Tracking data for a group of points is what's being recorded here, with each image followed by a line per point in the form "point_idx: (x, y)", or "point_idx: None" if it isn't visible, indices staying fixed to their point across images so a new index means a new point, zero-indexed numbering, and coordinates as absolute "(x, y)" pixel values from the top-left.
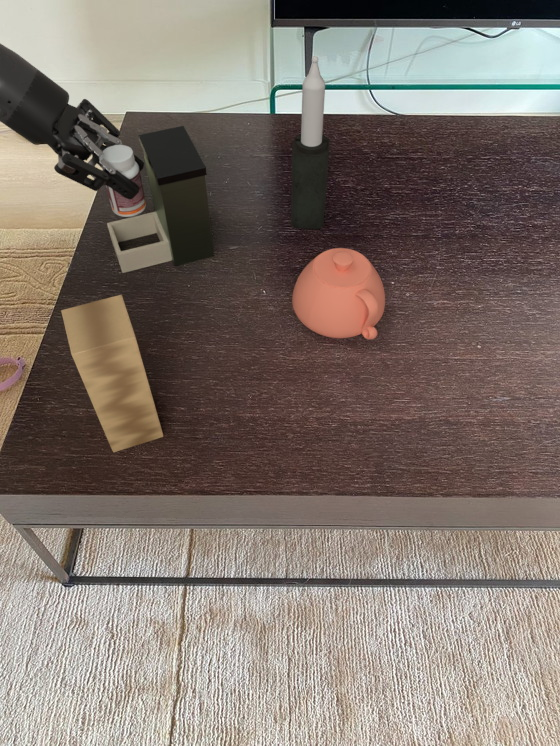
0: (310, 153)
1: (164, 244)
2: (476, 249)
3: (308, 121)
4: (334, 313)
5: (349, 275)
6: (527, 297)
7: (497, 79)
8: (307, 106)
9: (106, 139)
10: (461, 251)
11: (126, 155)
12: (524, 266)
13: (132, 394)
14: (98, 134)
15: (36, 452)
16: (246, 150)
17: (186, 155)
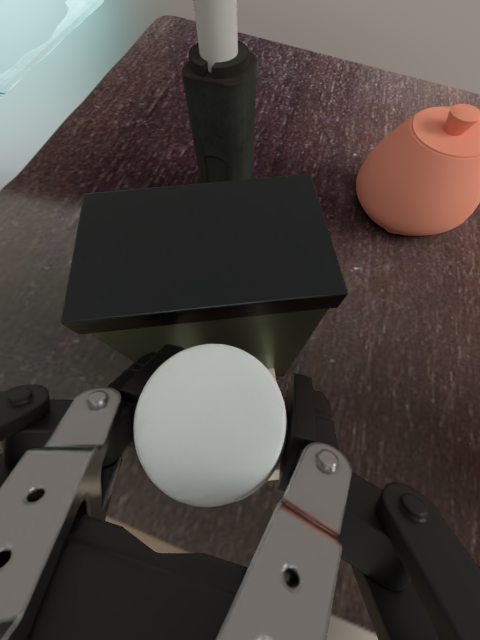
0: (247, 65)
1: (275, 377)
2: (316, 92)
3: None
4: None
5: (472, 126)
6: (384, 82)
7: (75, 20)
8: None
9: (97, 460)
10: (317, 101)
11: (240, 373)
12: (345, 73)
13: None
14: (74, 517)
15: None
16: (52, 231)
17: (241, 205)
